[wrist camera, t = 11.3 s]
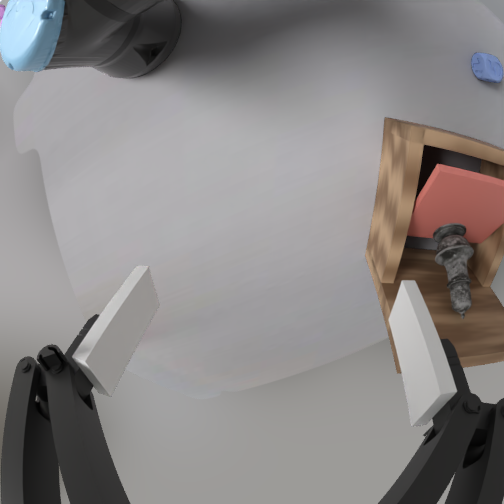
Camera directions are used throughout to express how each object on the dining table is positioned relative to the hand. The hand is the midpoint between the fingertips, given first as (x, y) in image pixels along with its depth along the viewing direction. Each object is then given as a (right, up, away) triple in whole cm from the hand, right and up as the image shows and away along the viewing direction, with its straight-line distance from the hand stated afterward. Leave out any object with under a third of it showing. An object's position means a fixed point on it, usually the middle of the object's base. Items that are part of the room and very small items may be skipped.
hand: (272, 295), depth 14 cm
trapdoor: (+26, +7, +13) cm, 30 cm away
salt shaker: (+26, +5, +18) cm, 32 cm away
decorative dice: (+33, +30, +10) cm, 46 cm away
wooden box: (+27, +10, +22) cm, 37 cm away
